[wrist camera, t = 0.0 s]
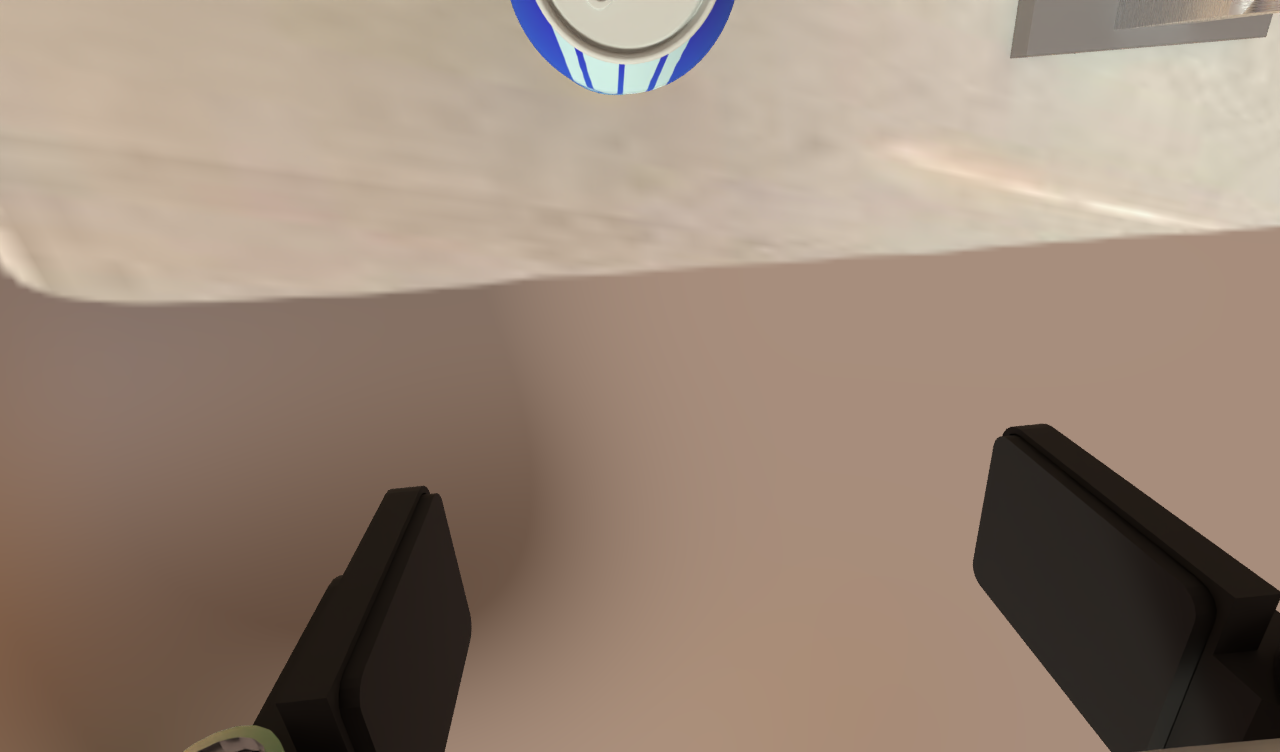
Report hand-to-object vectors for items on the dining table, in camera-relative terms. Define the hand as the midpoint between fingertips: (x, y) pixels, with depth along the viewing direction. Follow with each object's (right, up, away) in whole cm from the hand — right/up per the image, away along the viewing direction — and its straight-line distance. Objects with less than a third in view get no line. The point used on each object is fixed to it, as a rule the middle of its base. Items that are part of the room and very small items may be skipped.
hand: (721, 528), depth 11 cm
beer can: (-3, +23, +24) cm, 33 cm away
